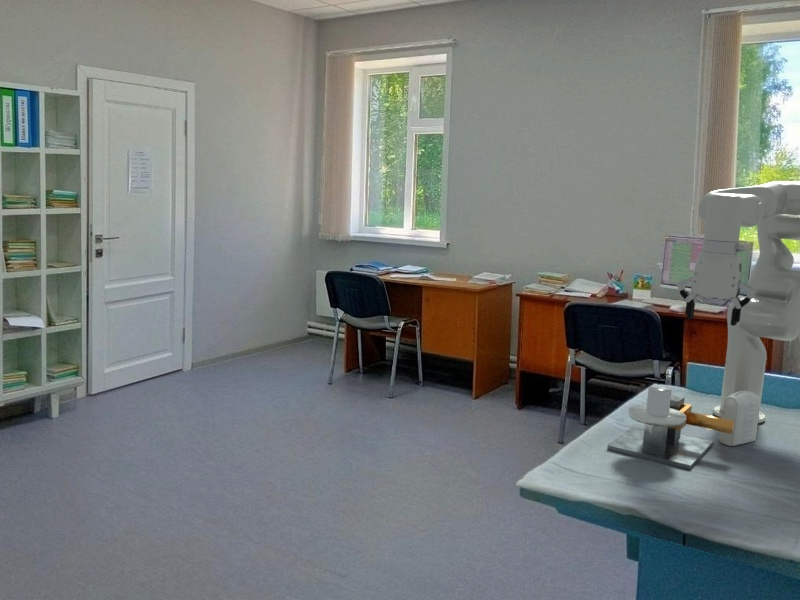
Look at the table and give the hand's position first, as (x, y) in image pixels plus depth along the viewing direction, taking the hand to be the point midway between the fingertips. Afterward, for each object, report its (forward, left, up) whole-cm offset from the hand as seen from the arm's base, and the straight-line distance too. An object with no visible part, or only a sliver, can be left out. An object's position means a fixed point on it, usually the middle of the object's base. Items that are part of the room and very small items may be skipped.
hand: (711, 321), depth 175 cm
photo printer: (-4, +8, -28) cm, 30 cm away
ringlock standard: (+14, -3, -28) cm, 32 cm away
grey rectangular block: (+9, -5, -27) cm, 29 cm away
